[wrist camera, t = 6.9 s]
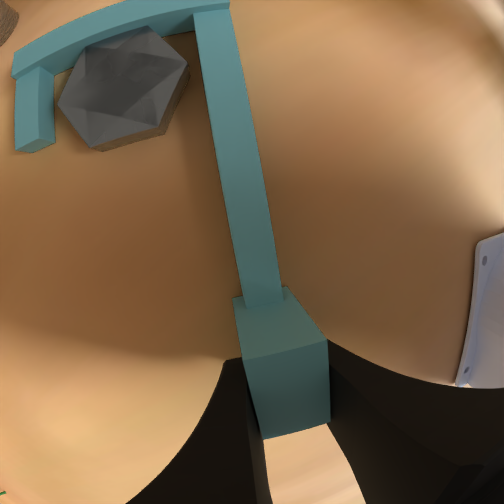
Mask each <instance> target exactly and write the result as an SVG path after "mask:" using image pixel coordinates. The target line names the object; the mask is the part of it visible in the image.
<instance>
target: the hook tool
mask: <svg viewBox="0 0 504 504" xmlns="http://www.w3.org/2000/svg"><path fill="white" fill-rule="evenodd" d="M229 5H230V1H229V0H126V1H123V2H120V3H117V4H114V5H111V6H108V7H105V8H103V9H100V10H97V11H95V12H92V13H90V14H87V15H85V16H83V17H80V18H78V19H76V20H73V21H71V22H69V23H67V24H65V25H63V26H61V27H59V28H57V29H55V30H53V31H51V32H49V33H47V34H45V35H43V36H42V37H40V38H38V39H36V40H34V41H33V42H31V43H29V44H28V45H26V46H24V47H23V48H21V49H20V50H18V51H16V52H15V53H14V58H13V65H12V73H11V77H12V78H14V79H16V92H15V123H14V124H15V150H16V151H23V152H29V153H34V152H36V151H38V150H40V149H42V148H44V147H47V146H49V145H51V144H53V143H56V142H55V127H54V76H55V75H57V74H59V73H61V72H63V71H65V70H67V69H69V68H72V67H74V66H75V65H76V63H77V61H78V59H79V57H80V55H81V53H82V52H83V50H84V48H85V46H88V45H90V44H92V43H95V42H98V41H100V40H103V39H106V38H108V37H111V36H114V35H117V34H120V33H123V32H126V31H130V30H133V29H136V28H140V27H143V26H147V25H148V26H149V27H150V28H151V29H152V30H153V31H155V32H156V33H157V34H158V35H159V36H160V37H164V36H169V35H173V34H178V33H183V32H188V31H194V30H195V35H196V41H197V48H198V54H199V60H200V66H201V72H202V78H203V84H204V90H205V96H206V102H207V108H208V114H209V120H210V125H211V131H212V137H213V142H214V148H215V153H216V159H217V164H218V170H219V175H220V181H221V186H222V191H223V197H224V202H225V207H226V212H227V218H228V223H229V228H230V233H231V238H232V243H233V249H234V254H235V259H236V264H237V269H238V274H239V279H240V284H241V288H242V293H243V296H240V297H235V298H232V302H233V308H234V314H235V320H236V326H237V332H238V337H239V343H240V349H241V354H242V360H243V364H244V368H245V372H246V376H247V380H248V384H249V388H250V392H251V396H252V400H253V403H254V407H255V411H256V415H257V419H258V422H259V426H260V430H261V433H262V437H263V440H264V439H269V438H274V437H278V436H282V435H286V434H290V433H294V432H298V431H302V430H305V429H309V428H312V427H316V426H319V425H322V424H325V423H329V422H331V419H330V383H329V362H328V345H327V339H326V338H325V336H324V335H323V334H322V332H321V331H320V330H319V328H318V327H317V326H316V324H315V323H314V322H313V320H312V319H311V318H310V316H309V315H308V314H307V312H306V311H305V310H304V308H303V307H302V306H301V304H300V303H299V302H298V300H297V299H296V298H295V296H294V295H293V294H292V292H291V291H290V290H289V288H288V287H287V286H286V287H282V286H281V280H280V273H279V267H278V261H277V255H276V249H275V242H274V236H273V230H272V225H271V219H270V213H269V207H268V201H267V196H266V190H265V184H264V179H263V173H262V168H261V162H260V157H259V151H258V146H257V141H256V135H255V130H254V125H253V120H252V115H251V110H250V105H249V100H248V95H247V90H246V85H245V80H244V75H243V70H242V65H241V61H240V56H239V51H238V47H237V42H236V37H235V33H234V28H233V24H232V19H231V15H230V10H229Z"/></svg>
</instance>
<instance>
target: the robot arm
mask: <svg viewBox="0 0 504 504" xmlns="http://www.w3.org/2000/svg"><path fill="white" fill-rule="evenodd" d="M327 345H328V362H329V383H330V419H331V422H329V423H326V424H327V425H328V427H329V429H330V431H331V432H332V434H333V436H334V437H335V439H336V441H337V443H338V444H339V446H340V448H341V450H342V451H343V453H344V455H345V456H346V458H347V460H348V462H349V464H350V466H351V468H352V470H353V473H354V475H355V478H356V480H357V482H358V485H359V487H360V489H361V492H362V494H363V497H364V499H365V502H366V504H504V232H503V233H501V234H498V235H495V236H492V237H489V238H487V239H484V240H481V241H479V242H478V244H477V246H476V250H475V269H474V282H473V292H472V301H471V309H470V316H469V322H468V328H467V334H466V339H465V344H464V349H463V353H462V358H461V362H460V366H459V370H458V374H457V377H456V381H455V385H456V386H457V387H455V386H448V385H442V384H436V383H431V382H426V381H422V380H419V379H415V378H412V377H408V376H405V375H402V374H399V373H396V372H393V371H391V370H388V369H386V368H383V367H381V366H378V365H376V364H374V363H372V362H369V361H367V360H365V359H363V358H361V357H359V356H357V355H355V354H353V353H351V352H349V351H348V350H346V349H344V348H342V347H340V346H339V345H337V344H335V343H333V342H331V341H330V340H328V339H327ZM467 383H468V384H469V385H470V386H471V387H473V388H464V387H463V386H464V385H466V384H467ZM126 504H273V502H272V498H271V494H270V490H269V484H268V478H267V470H266V461H265V452H264V443H263V437H262V433H261V430H260V426H259V422H258V419H257V415H256V411H255V407H254V403H253V400H252V396H251V392H250V388H249V384H248V380H247V376H246V372H245V368H244V364H243V360H242V357H239V358H234V359H229V360H226V361H225V362H224V363H223V367H222V371H221V374H220V377H219V380H218V382H217V385H216V388H215V390H214V392H213V395H212V397H211V399H210V401H209V403H208V405H207V407H206V409H205V411H204V413H203V415H202V417H201V419H200V420H199V422H198V424H197V426H196V427H195V429H194V431H193V432H192V434H191V435H190V437H189V438H188V440H187V441H186V442H185V444H184V445H183V447H182V448H181V449H180V451H179V452H178V453H177V454H176V456H175V457H174V458H173V459H172V460H171V462H170V463H169V464H168V465H167V466H166V467H165V469H164V470H163V471H162V472H161V473H160V474H159V475H158V476H157V477H156V478H155V479H154V480H153V481H151V482H150V483H149V484H148V485H147V486H146V487H145V488H144V489H143V490H142V491H141V492H139V493H138V494H137V495H136V496H135V497H134V498H132V499H131V500H130V501H128V502H127V503H126Z"/></svg>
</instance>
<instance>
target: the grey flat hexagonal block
mask: <svg viewBox="0 0 504 504" xmlns="http://www.w3.org/2000/svg"><path fill="white" fill-rule="evenodd" d="M189 77H190V72H189V67H188V63H187V61H186V60H185V59H183V58H182V57H181V56H180V55H179V54H178V53H177V52H176V51H175V50H174V49H173V48H172V47H171V46H170V45H169V44H168V43H167V42H166V41H164V40H163V39H162V38H161V37H160V36H159V35H158V34H157V33H156V32H155V31H153V30H152V29H151V28H150V27H149V26H148V25H147V26H143V27H140V28H136V29H133V30H130V31H126V32H123V33H120V34H117V35H114V36H111V37H108V38H106V39H103V40H100V41H98V42H95V43H92V44H90V45H88V46H85V48H84V50H83V52H82V53H81V55H80V57H79V59H78V61H77V63H76V65H75V67H74V68H73V70H72V72H71V75H70V77H69V79H68V81H67V83H66V85H65V87H64V89H63V92H62V94H61V96H60V99H59V101H58V103H57V105H58V107H59V108H60V109H61V111H62V112H63V114H64V115H65V116H66V118H67V119H68V120H69V122H70V123H71V124H72V126H73V127H74V128H75V130H76V131H77V132H78V134H79V135H80V136H81V138H82V139H83V140H84V141H85V143H86V144H87V145H88V147H89V148H92V149H95V150H98V151H101V152H104V151H107V150H110V149H114V148H117V147H120V146H123V145H127V144H130V143H134V142H137V141H141V140H145V139H148V138H152V137H156V136H160V135H164V134H165V132H166V130H167V127H168V125H169V123H170V120H171V118H172V115H173V113H174V111H175V108H176V106H177V104H178V101H179V99H180V97H181V95H182V92H183V90H184V88H185V86H186V84H187V82H188V80H189Z"/></svg>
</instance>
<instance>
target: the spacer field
mask: <svg viewBox="0 0 504 504" xmlns="http://www.w3.org/2000/svg"><path fill="white" fill-rule="evenodd" d="M18 19H19V14H18V13H17V12H16V11H15V10H14V9H13V8H11V7H10V6H9V5H8V4H7V3H5V2H4V1H3V0H0V46H1V45H2V44H3V43H4V42H5V41H6V40H7V39H8V37H9V36H10V35H11V33H12V32H13V30H14V28H15V27H16V25H17V22H18Z"/></svg>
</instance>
